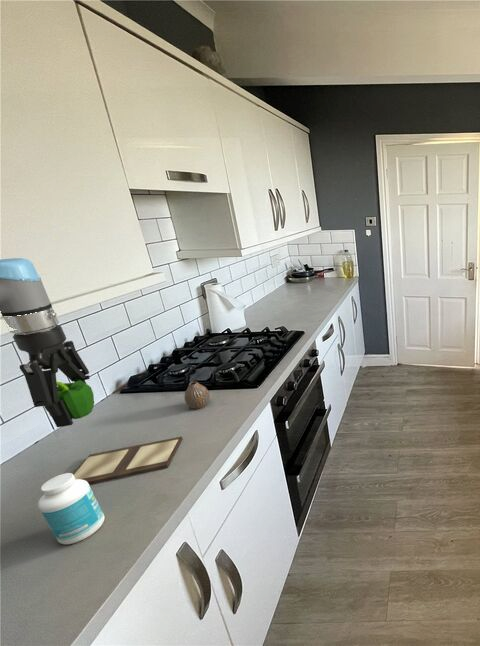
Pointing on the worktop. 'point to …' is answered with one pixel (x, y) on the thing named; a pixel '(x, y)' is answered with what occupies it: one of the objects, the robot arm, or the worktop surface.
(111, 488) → the worktop surface
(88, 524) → the pill bottle
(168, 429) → the worktop surface
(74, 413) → the bell pepper
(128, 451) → the board
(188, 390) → the brown rounded bulb
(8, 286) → the robot arm
